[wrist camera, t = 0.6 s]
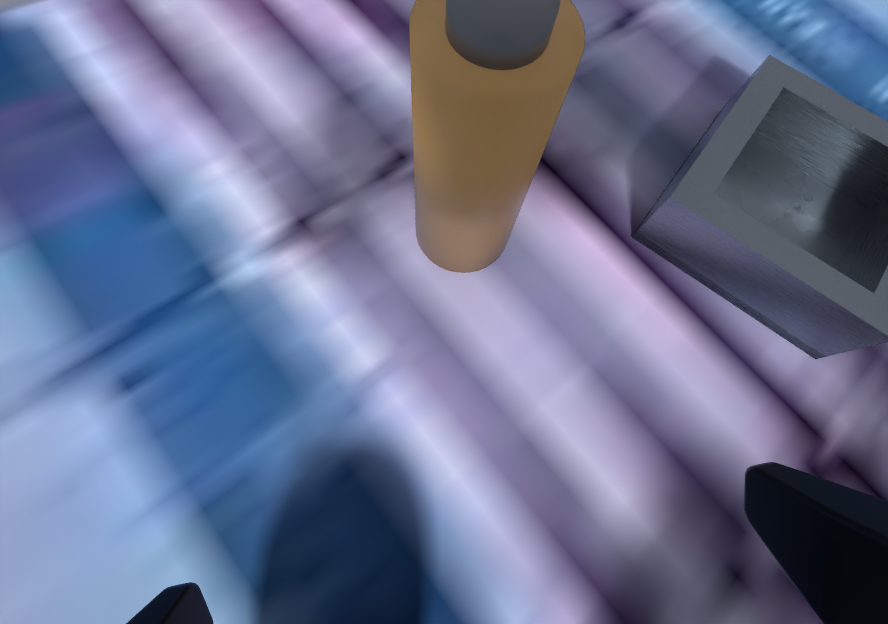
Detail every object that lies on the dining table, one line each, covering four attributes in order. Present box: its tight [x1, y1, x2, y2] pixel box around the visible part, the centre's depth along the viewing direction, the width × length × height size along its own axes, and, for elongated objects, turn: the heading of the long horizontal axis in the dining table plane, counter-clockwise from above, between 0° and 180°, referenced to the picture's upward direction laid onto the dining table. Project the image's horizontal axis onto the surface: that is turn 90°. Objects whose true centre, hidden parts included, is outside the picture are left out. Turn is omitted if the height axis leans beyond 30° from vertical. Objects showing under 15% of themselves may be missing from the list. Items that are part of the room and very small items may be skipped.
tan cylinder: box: [409, 0, 585, 273], centre depth 18 cm, size 5×5×13 cm
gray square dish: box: [632, 55, 888, 359], centre depth 23 cm, size 11×11×4 cm
